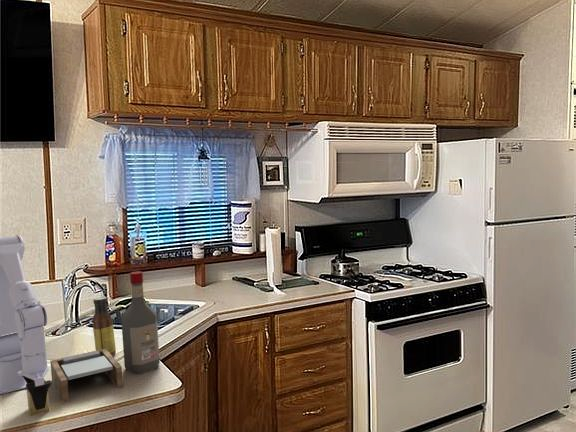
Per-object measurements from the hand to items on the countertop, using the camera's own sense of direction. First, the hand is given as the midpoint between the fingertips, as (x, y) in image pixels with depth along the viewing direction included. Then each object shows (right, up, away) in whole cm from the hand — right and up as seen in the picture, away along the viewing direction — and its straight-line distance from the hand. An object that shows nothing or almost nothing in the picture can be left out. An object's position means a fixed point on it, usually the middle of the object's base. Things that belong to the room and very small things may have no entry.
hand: (38, 403), depth 136 cm
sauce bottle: (+5, +2, +37) cm, 38 cm away
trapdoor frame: (+6, 0, +16) cm, 17 cm away
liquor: (+20, +1, +27) cm, 33 cm away
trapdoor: (+6, +4, +15) cm, 17 cm away
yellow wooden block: (0, -2, 0) cm, 2 cm away
